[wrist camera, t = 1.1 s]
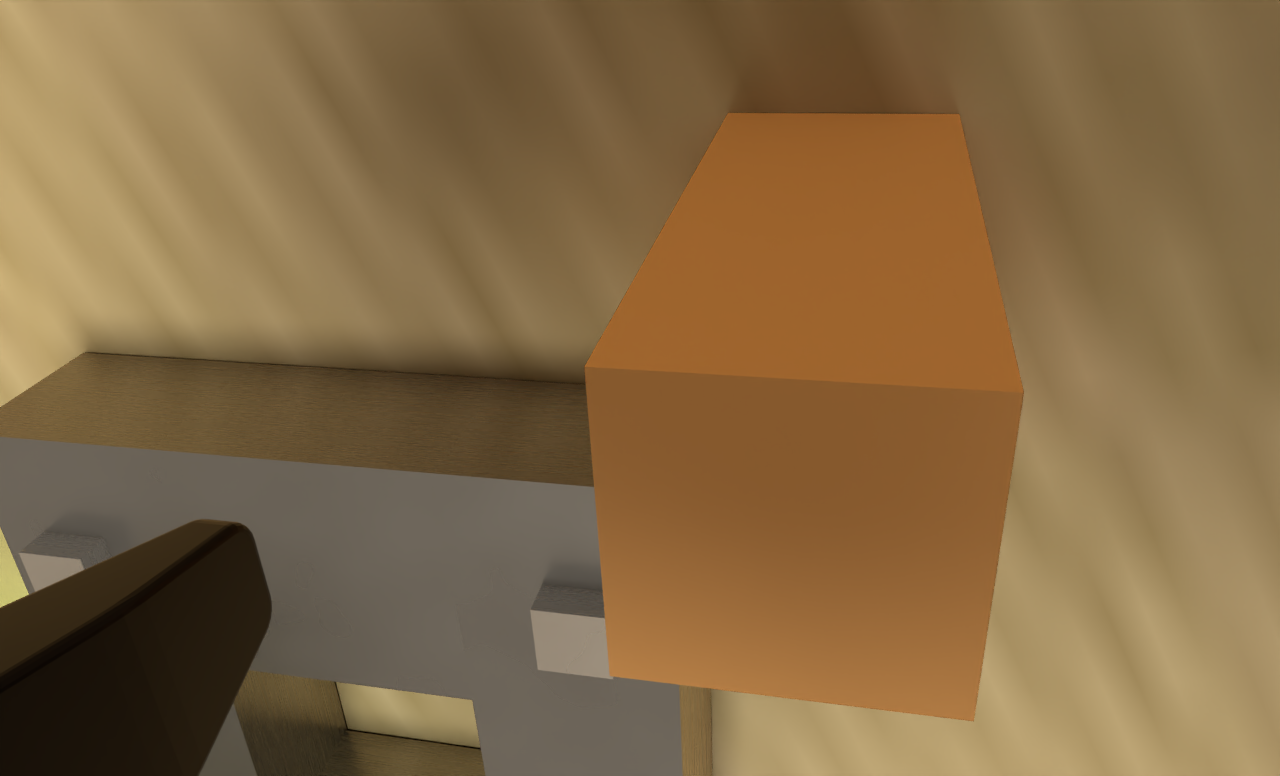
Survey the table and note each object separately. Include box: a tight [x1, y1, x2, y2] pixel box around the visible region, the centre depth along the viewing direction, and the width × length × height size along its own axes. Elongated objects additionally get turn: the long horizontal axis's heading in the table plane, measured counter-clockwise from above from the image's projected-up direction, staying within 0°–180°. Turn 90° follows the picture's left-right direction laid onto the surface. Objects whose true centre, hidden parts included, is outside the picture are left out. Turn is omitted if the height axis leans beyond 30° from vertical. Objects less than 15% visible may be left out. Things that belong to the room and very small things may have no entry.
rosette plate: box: [0, 353, 712, 776], centre depth 20 cm, size 12×14×4 cm
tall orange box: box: [584, 113, 1024, 721], centre depth 12 cm, size 3×3×8 cm
